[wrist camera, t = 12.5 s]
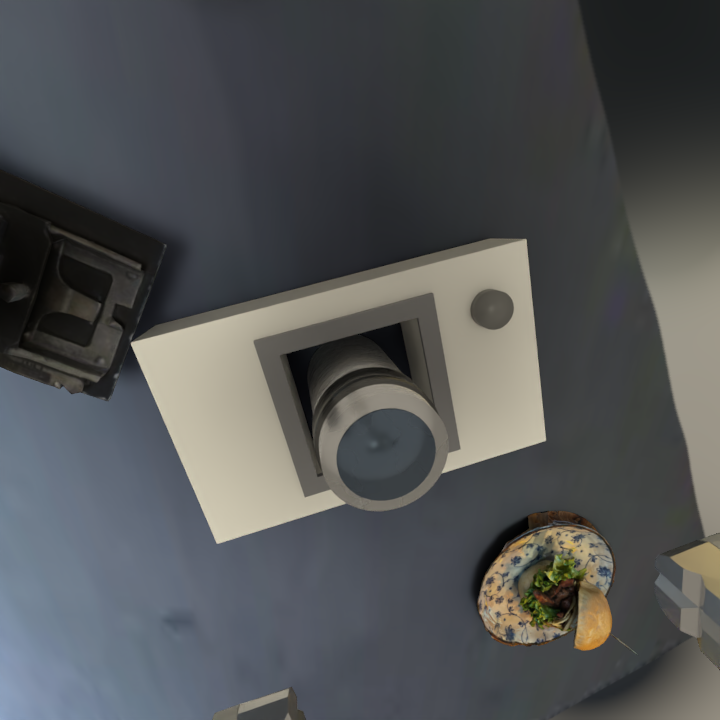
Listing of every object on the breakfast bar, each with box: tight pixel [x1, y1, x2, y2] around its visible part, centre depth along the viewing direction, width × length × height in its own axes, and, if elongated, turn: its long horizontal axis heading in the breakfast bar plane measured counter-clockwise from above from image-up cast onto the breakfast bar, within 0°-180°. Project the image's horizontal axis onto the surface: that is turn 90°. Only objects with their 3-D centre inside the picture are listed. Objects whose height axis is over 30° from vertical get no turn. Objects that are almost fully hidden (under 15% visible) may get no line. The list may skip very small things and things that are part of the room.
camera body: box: [131, 238, 546, 544], centre depth 24 cm, size 12×20×5 cm, turn 103°
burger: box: [477, 511, 637, 655], centre depth 30 cm, size 12×12×8 cm
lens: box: [307, 335, 449, 511], centre depth 21 cm, size 6×6×10 cm
